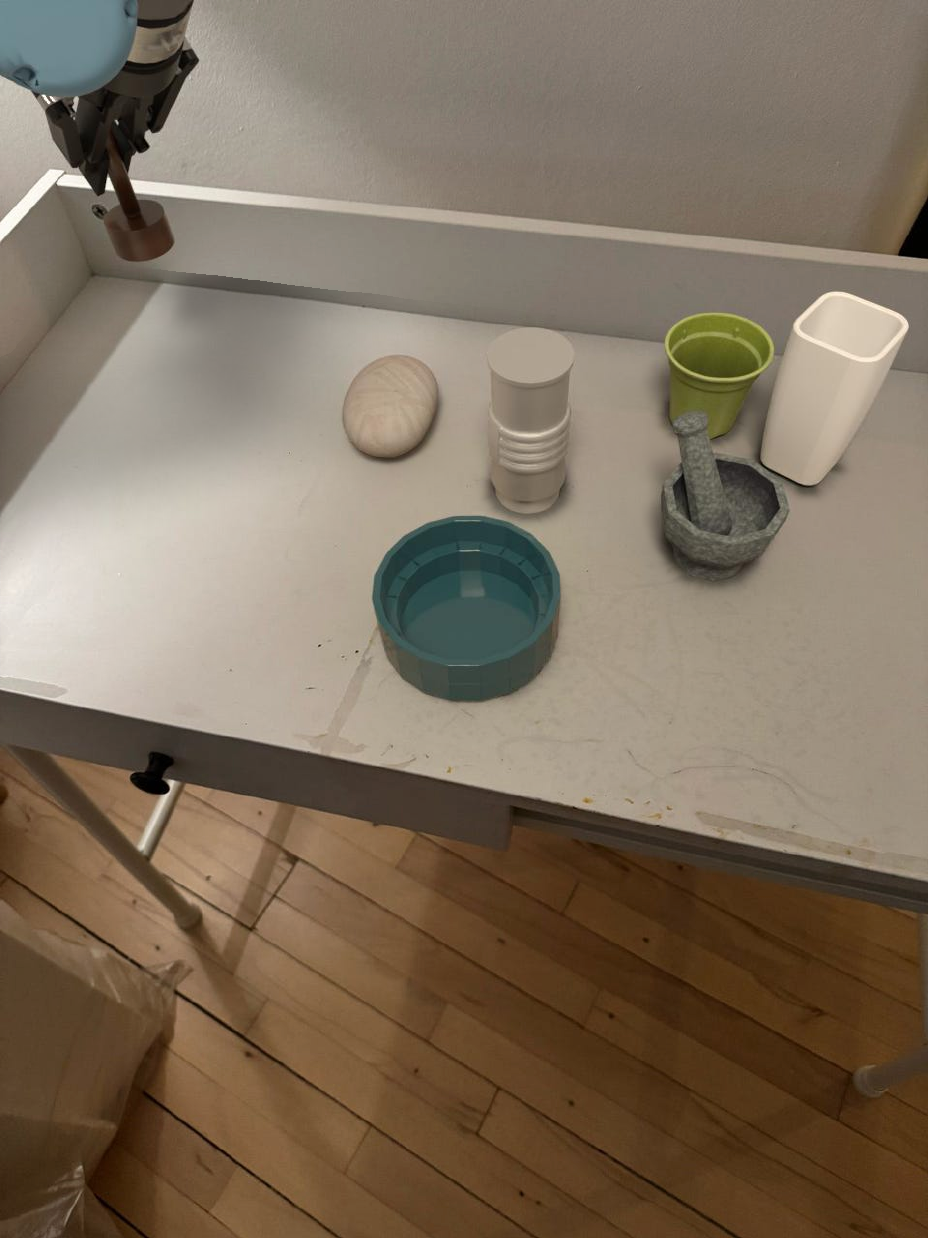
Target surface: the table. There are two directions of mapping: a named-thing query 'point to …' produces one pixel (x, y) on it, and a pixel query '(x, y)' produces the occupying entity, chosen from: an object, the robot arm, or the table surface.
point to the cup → (828, 383)
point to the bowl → (467, 607)
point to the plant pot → (715, 366)
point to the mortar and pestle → (718, 505)
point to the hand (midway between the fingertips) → (102, 175)
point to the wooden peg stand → (134, 216)
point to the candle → (529, 417)
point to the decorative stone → (390, 405)
